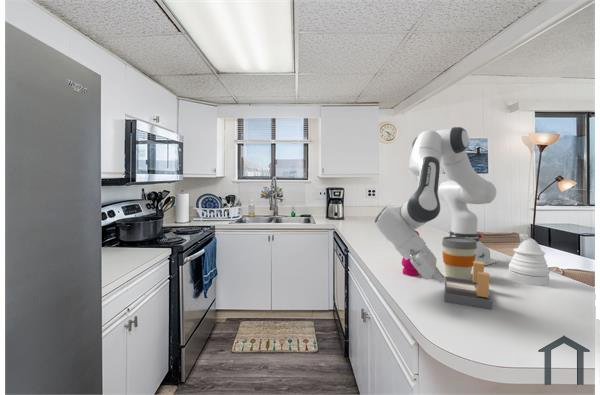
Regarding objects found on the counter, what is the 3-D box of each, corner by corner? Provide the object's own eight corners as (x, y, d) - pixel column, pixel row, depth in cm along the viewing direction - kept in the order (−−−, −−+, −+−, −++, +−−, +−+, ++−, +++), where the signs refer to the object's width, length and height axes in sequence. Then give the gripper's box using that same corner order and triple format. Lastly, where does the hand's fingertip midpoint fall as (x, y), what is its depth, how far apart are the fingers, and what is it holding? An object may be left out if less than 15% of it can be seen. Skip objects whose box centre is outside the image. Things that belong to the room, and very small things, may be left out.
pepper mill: (417, 271, 130) (418, 224, 129) (422, 276, 123) (423, 227, 122) (399, 270, 131) (401, 224, 130) (403, 276, 124) (405, 227, 123)
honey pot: (510, 282, 118) (512, 236, 117) (506, 273, 129) (508, 231, 128) (552, 288, 112) (555, 239, 111) (544, 278, 123) (546, 233, 122)
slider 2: (477, 296, 95) (478, 274, 95) (476, 292, 98) (477, 271, 98) (488, 297, 94) (489, 275, 94) (487, 294, 97) (488, 272, 96)
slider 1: (473, 282, 108) (474, 263, 108) (472, 280, 111) (473, 260, 110) (483, 283, 107) (484, 264, 106) (482, 281, 110) (483, 262, 109)
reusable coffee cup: (480, 281, 118) (482, 243, 117) (445, 279, 120) (446, 241, 119) (469, 272, 130) (470, 237, 129) (437, 270, 133) (439, 235, 132)
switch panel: (444, 301, 98) (445, 293, 98) (444, 282, 116) (445, 275, 116) (492, 309, 93) (492, 300, 92) (484, 288, 111) (484, 281, 110)
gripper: (416, 248, 94) (451, 284, 90) (421, 237, 112) (450, 266, 109) (401, 260, 96) (433, 296, 93) (408, 247, 115) (436, 277, 111)
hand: (442, 280), depth 101 cm, fingers closed
